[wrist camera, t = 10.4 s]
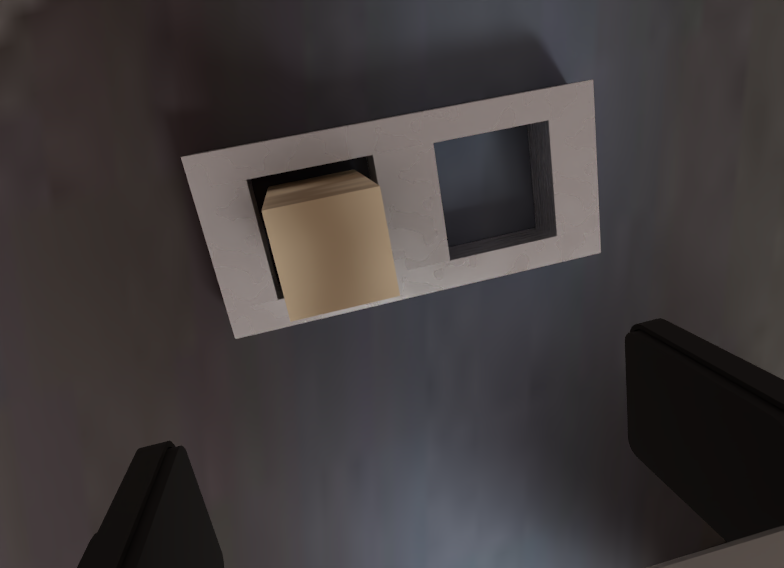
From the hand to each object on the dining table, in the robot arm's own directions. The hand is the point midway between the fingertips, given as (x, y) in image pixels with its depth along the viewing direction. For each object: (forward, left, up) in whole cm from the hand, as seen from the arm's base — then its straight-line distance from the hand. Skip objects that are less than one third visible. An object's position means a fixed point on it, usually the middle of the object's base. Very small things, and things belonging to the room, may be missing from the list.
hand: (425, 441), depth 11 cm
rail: (-4, -2, -19) cm, 19 cm away
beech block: (+1, -2, -19) cm, 19 cm away
